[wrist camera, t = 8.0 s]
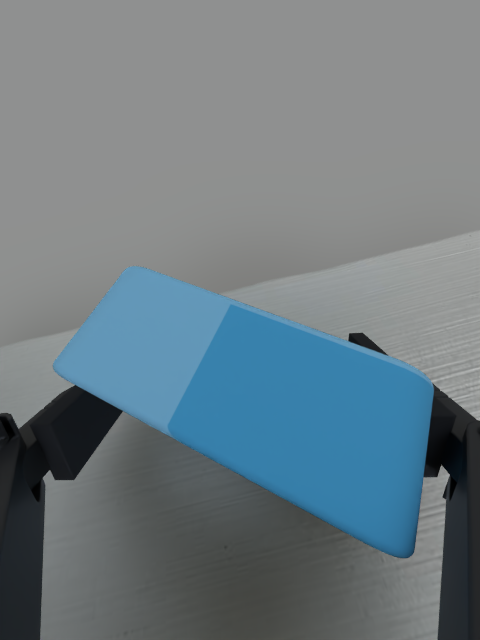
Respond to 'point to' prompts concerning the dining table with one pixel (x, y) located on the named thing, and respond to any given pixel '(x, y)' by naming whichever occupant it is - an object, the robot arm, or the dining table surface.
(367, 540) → the data package
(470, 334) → the dining table surface
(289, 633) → the dining table surface
